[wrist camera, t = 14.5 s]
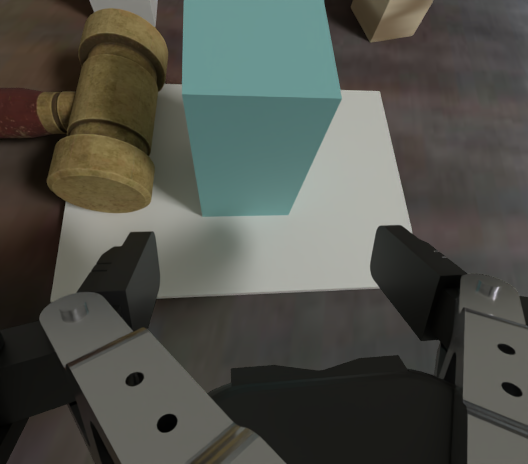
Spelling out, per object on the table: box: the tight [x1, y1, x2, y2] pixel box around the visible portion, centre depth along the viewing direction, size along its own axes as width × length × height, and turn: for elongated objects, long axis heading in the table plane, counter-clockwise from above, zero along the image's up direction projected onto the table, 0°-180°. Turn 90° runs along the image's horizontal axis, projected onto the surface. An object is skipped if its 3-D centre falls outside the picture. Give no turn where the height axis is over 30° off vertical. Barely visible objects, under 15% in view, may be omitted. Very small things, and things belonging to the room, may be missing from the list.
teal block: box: [182, 0, 342, 217], centre depth 15 cm, size 5×5×10 cm
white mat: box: [50, 84, 413, 302], centre depth 20 cm, size 20×14×1 cm
